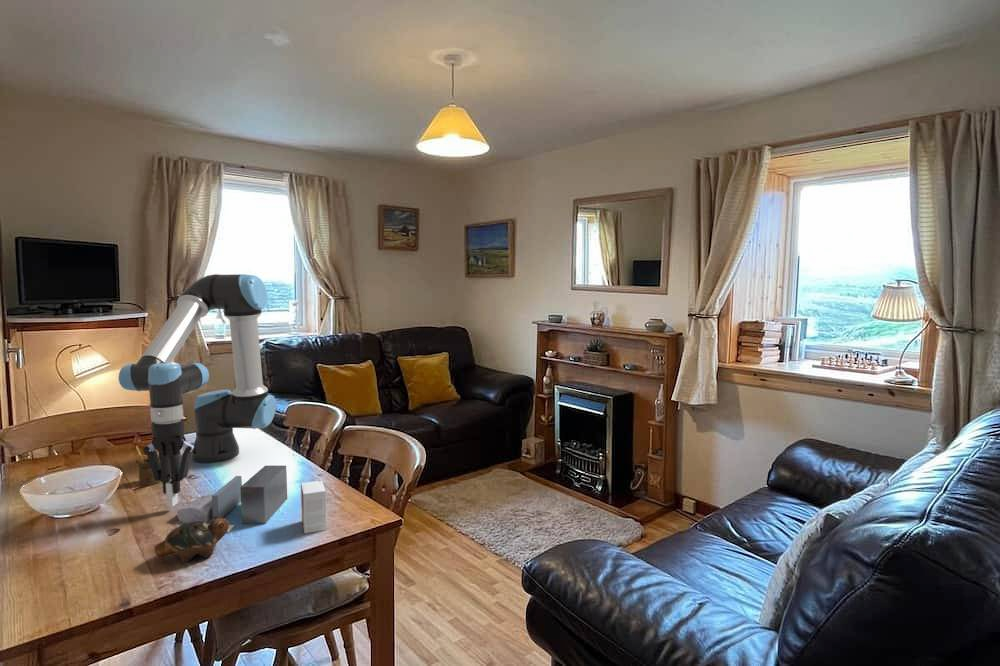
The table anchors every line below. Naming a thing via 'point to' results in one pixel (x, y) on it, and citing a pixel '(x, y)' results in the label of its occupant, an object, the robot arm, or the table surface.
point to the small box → (313, 506)
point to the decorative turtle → (193, 539)
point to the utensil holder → (145, 471)
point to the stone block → (197, 510)
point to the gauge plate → (226, 498)
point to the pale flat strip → (230, 528)
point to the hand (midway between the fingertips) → (172, 504)
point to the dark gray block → (263, 494)
